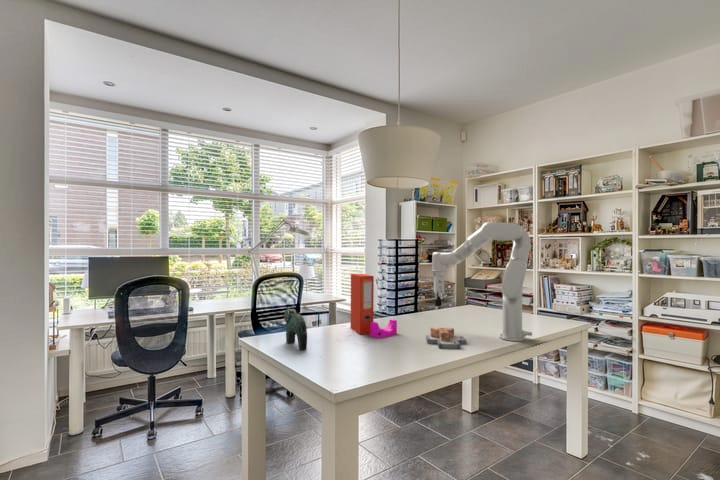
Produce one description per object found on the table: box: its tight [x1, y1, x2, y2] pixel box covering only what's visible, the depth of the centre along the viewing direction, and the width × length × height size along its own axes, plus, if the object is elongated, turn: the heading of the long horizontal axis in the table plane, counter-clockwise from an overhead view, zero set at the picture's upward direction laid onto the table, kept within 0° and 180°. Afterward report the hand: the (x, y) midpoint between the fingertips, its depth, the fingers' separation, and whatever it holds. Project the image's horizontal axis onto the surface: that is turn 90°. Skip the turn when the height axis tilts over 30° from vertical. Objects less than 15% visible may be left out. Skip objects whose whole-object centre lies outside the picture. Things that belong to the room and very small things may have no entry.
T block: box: [429, 327, 455, 342], centre depth 196 cm, size 12×12×4 cm
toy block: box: [369, 318, 398, 339], centre depth 202 cm, size 15×6×8 cm, turn 120°
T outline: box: [425, 334, 467, 350], centre depth 184 cm, size 19×16×2 cm
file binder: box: [350, 273, 375, 336], centre depth 212 cm, size 8×17×32 cm, turn 19°
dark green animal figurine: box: [283, 304, 308, 351], centre depth 182 cm, size 20×6×20 cm, turn 33°
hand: (438, 305), depth 211 cm, fingers closed
